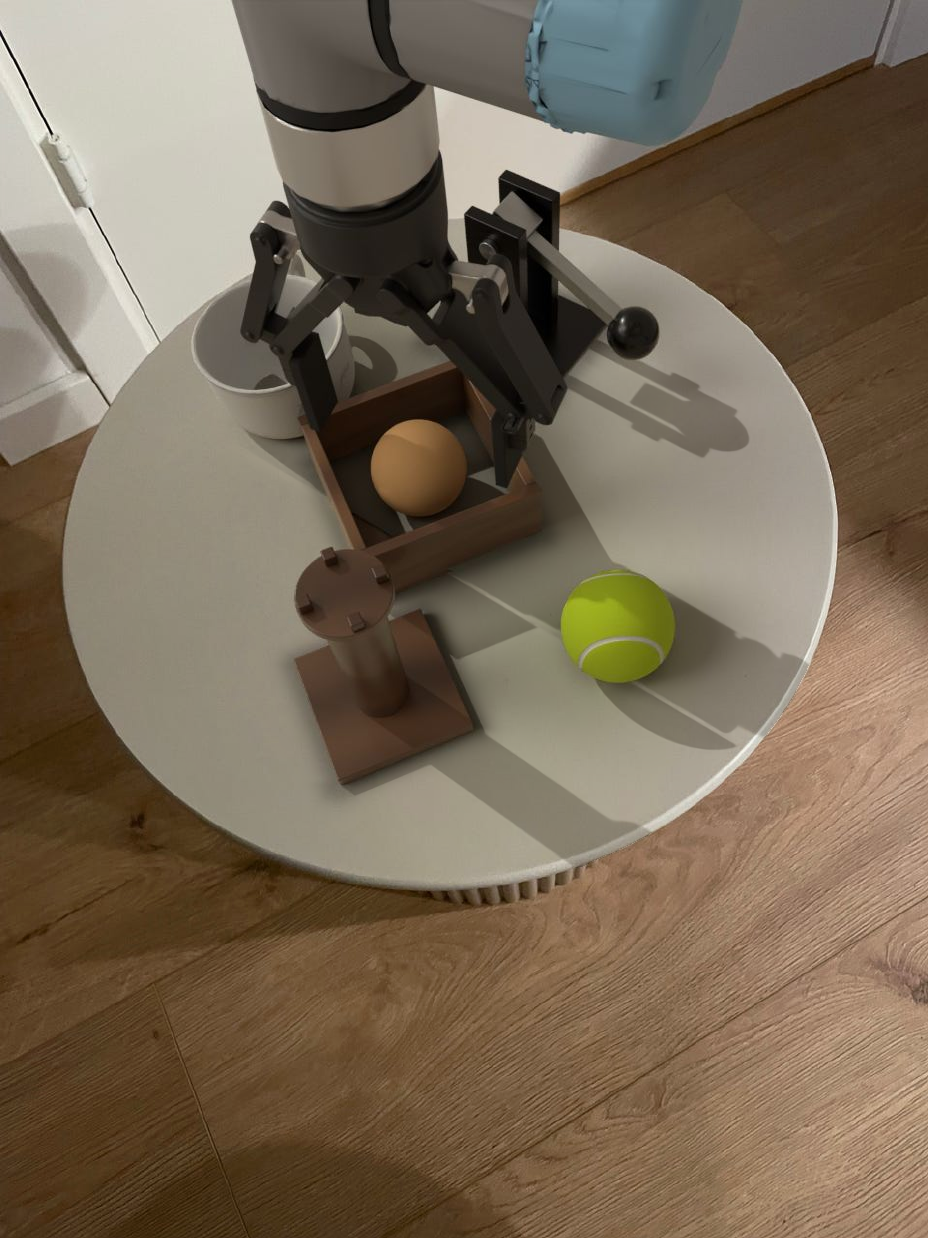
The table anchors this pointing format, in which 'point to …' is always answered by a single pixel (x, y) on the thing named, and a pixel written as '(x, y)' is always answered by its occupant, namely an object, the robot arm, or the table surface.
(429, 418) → the bin
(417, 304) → the robot arm
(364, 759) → the stand
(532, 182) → the bracket
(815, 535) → the table surface
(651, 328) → the lever
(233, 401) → the teacup
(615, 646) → the tennis ball
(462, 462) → the cork ball
